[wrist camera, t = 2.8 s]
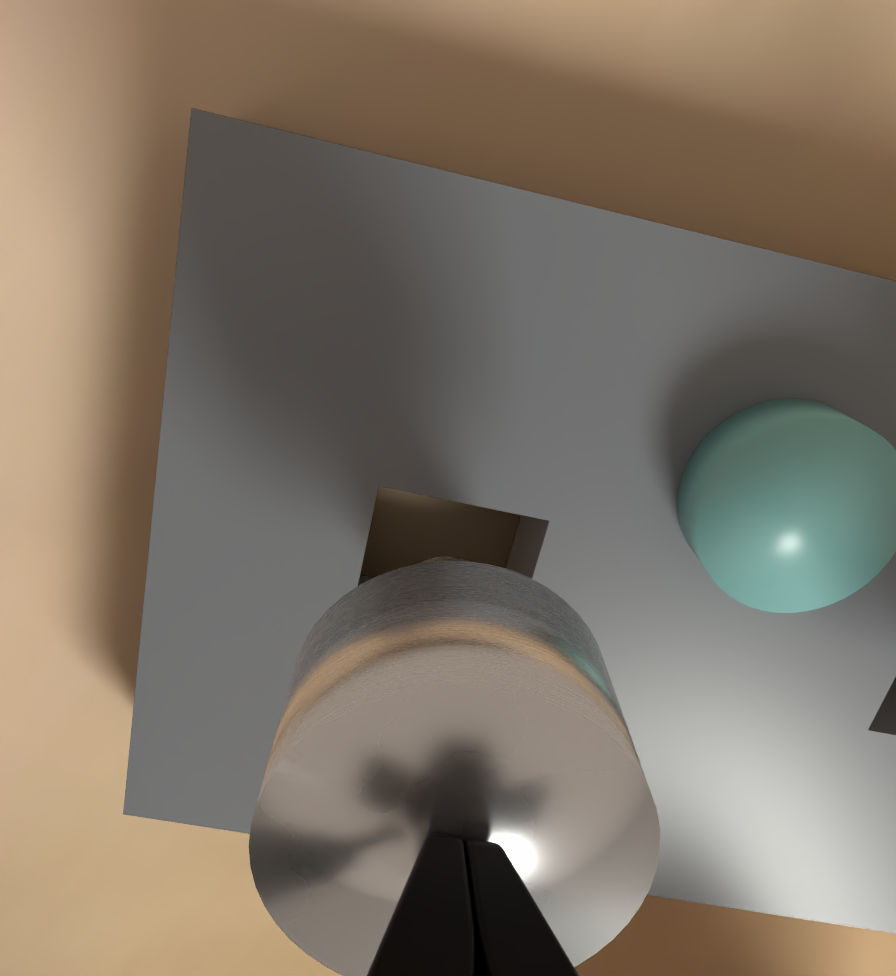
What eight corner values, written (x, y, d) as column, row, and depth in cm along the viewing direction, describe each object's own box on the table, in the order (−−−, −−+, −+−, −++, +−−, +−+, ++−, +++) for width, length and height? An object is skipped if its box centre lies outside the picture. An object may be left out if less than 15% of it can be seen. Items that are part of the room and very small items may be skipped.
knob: (297, 690, 14) (225, 970, 9) (340, 461, 13) (280, 650, 8) (537, 731, 15) (592, 1019, 10) (608, 516, 13) (719, 728, 8)
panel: (160, 736, 19) (123, 814, 17) (231, 119, 14) (191, 107, 12) (978, 871, 21) (1045, 956, 19) (1290, 379, 16) (1433, 413, 14)
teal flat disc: (650, 561, 15) (669, 592, 14) (715, 378, 13) (742, 396, 12) (827, 595, 15) (858, 628, 14) (907, 421, 14) (949, 443, 13)
